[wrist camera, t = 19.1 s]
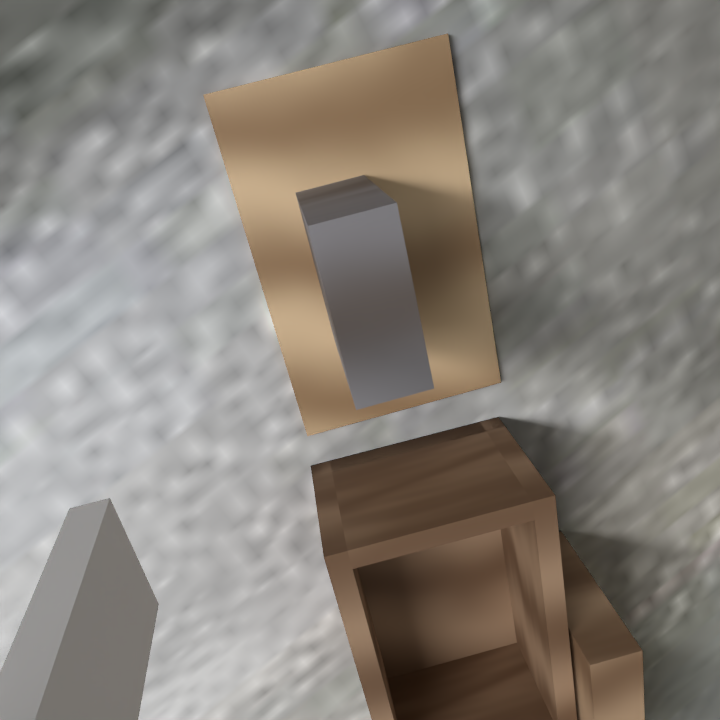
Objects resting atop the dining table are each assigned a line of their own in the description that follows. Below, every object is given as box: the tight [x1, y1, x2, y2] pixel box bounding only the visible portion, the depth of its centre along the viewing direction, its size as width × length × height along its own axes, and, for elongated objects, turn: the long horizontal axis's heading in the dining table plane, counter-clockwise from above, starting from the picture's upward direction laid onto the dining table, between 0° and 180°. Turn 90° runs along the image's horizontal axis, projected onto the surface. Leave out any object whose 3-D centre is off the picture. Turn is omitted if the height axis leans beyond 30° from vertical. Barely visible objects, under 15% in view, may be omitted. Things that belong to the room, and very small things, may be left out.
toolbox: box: [311, 417, 645, 720], centre depth 33 cm, size 26×13×12 cm, turn 12°
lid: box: [204, 34, 501, 436], centre depth 26 cm, size 16×10×8 cm, turn 14°
